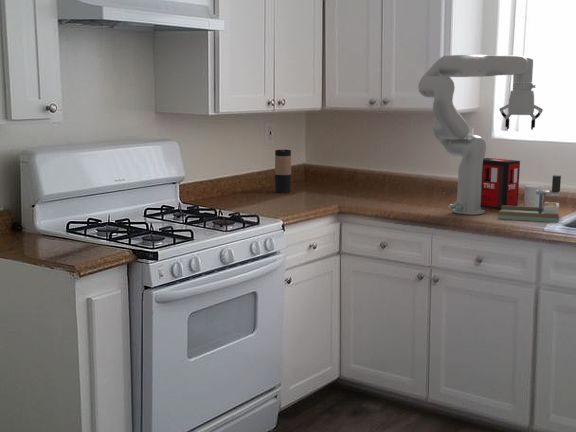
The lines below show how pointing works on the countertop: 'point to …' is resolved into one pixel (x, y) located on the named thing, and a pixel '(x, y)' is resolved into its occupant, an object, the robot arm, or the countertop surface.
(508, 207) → the pitch
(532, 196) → the white cup
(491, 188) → the cleaning product box
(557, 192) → the kicker rod
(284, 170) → the travel mug
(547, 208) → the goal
